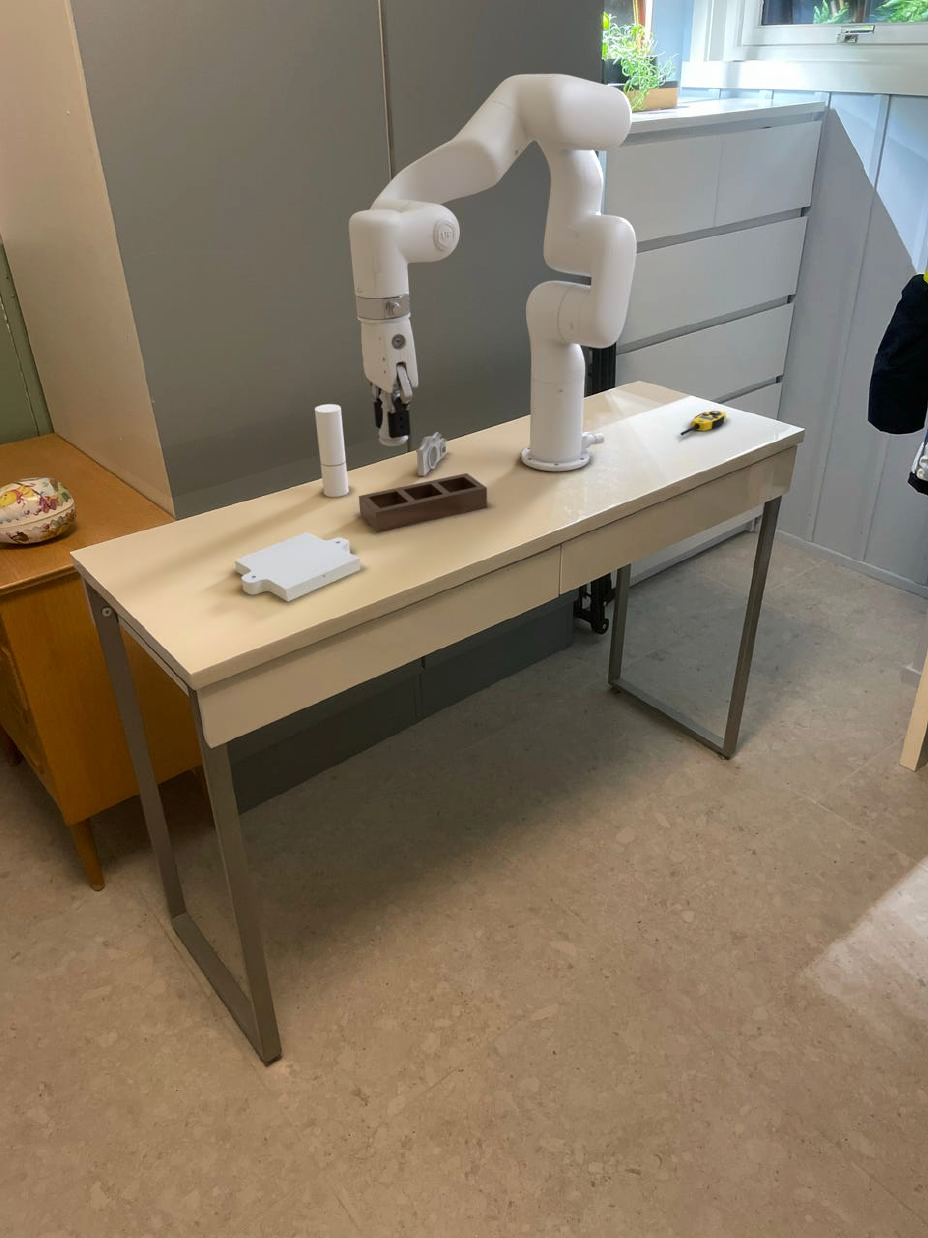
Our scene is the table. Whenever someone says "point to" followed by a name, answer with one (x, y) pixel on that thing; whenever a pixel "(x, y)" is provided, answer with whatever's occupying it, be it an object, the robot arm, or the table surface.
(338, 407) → the tube
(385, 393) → the rook chess piece
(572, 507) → the table surface
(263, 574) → the mounting plate
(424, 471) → the white ornate piece
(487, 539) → the table surface
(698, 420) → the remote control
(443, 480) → the piece stand
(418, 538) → the table surface
